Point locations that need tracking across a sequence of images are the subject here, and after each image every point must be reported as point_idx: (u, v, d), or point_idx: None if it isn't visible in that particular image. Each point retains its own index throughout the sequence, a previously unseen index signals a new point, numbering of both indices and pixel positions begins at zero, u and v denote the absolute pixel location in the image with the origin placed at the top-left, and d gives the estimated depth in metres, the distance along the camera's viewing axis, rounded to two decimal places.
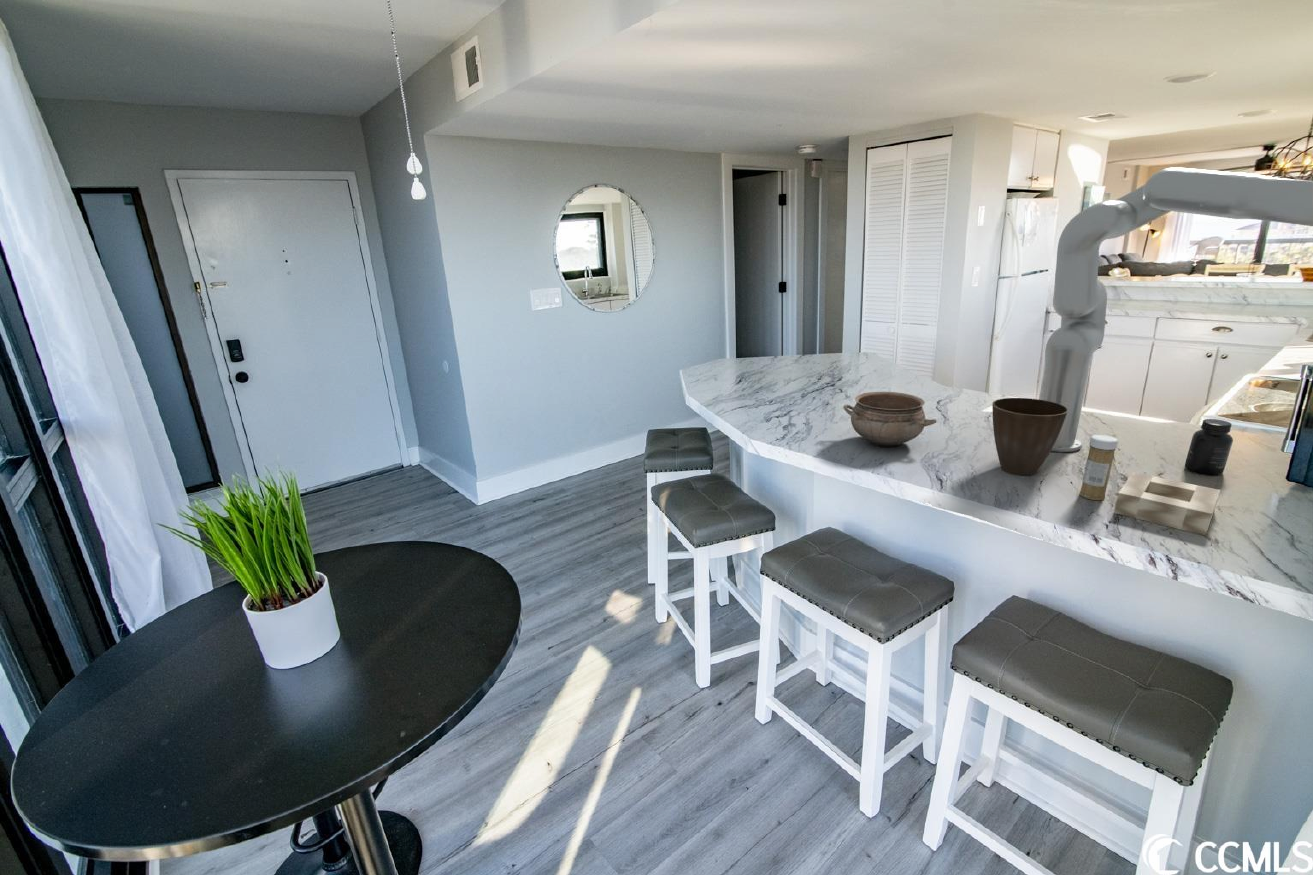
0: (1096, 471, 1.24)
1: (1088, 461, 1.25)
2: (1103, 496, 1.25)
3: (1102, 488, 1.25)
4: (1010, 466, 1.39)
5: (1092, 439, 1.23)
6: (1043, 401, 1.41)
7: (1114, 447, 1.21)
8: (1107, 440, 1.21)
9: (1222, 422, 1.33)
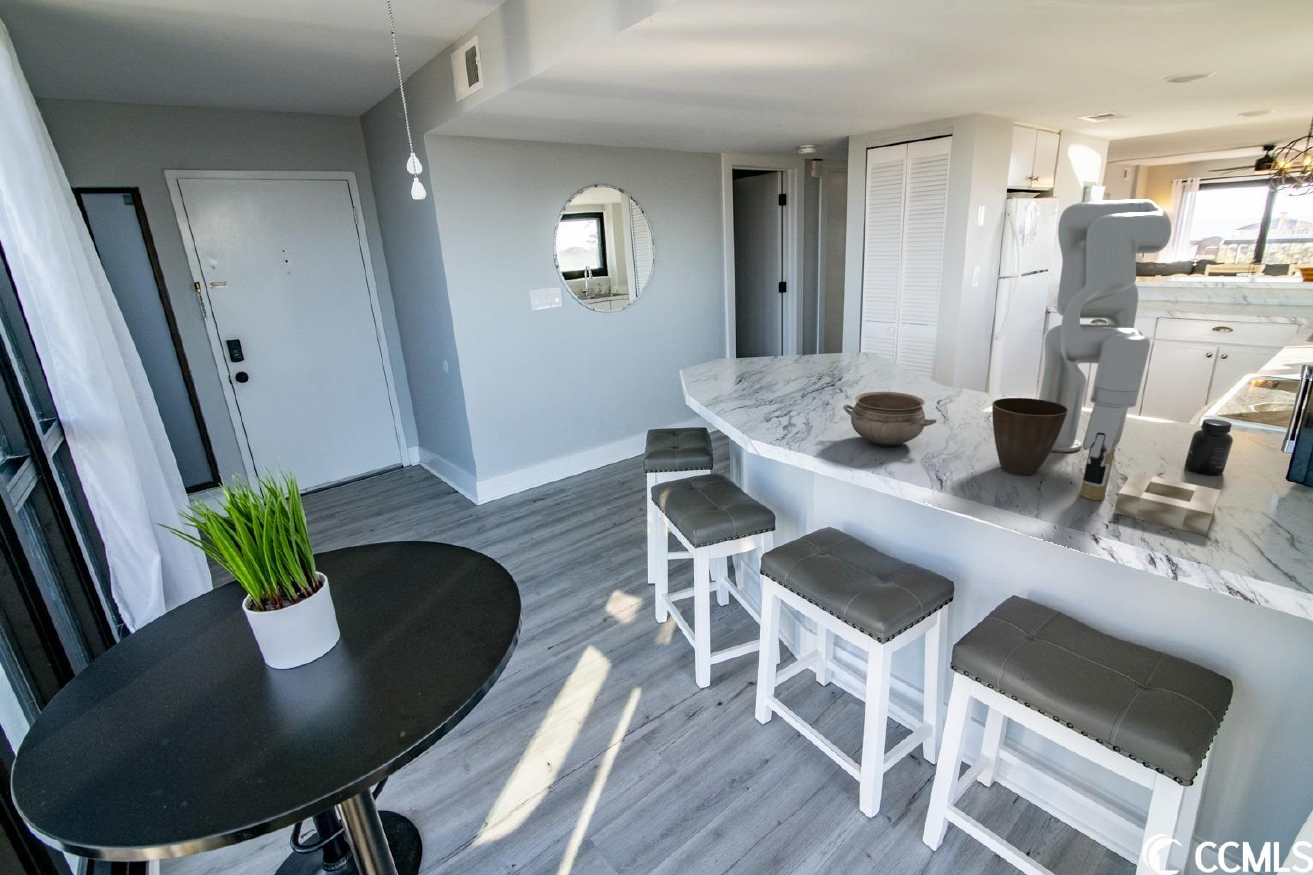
0: None
1: None
2: (1103, 496, 1.25)
3: (1102, 488, 1.25)
4: (1010, 466, 1.39)
5: None
6: (1043, 401, 1.41)
7: None
8: None
9: (1222, 422, 1.33)
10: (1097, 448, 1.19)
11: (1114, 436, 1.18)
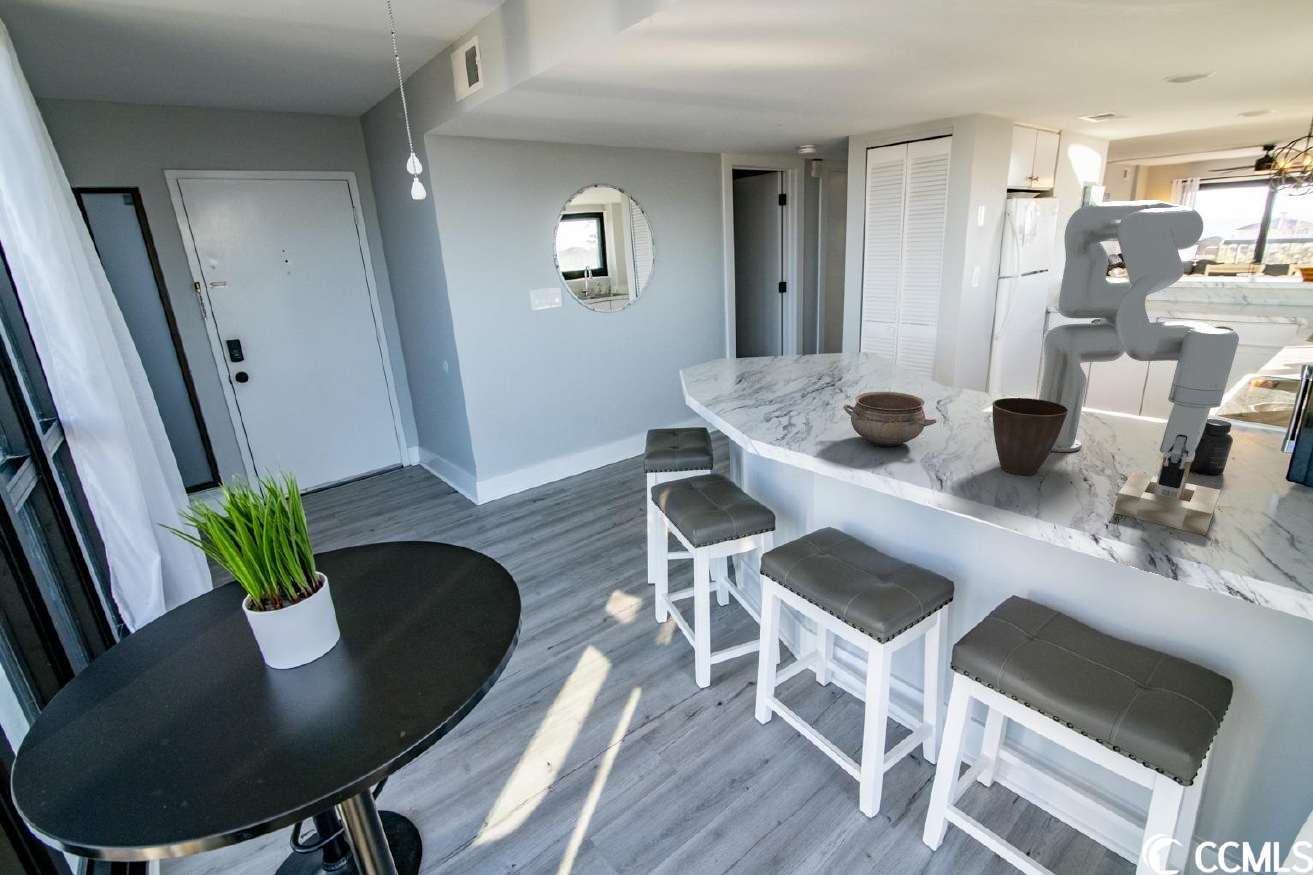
0: None
1: None
2: None
3: None
4: (1010, 466, 1.39)
5: None
6: (1044, 401, 1.41)
7: (1191, 459, 1.14)
8: (1184, 452, 1.14)
9: (1222, 422, 1.33)
10: (1180, 441, 1.10)
11: (1197, 438, 1.10)
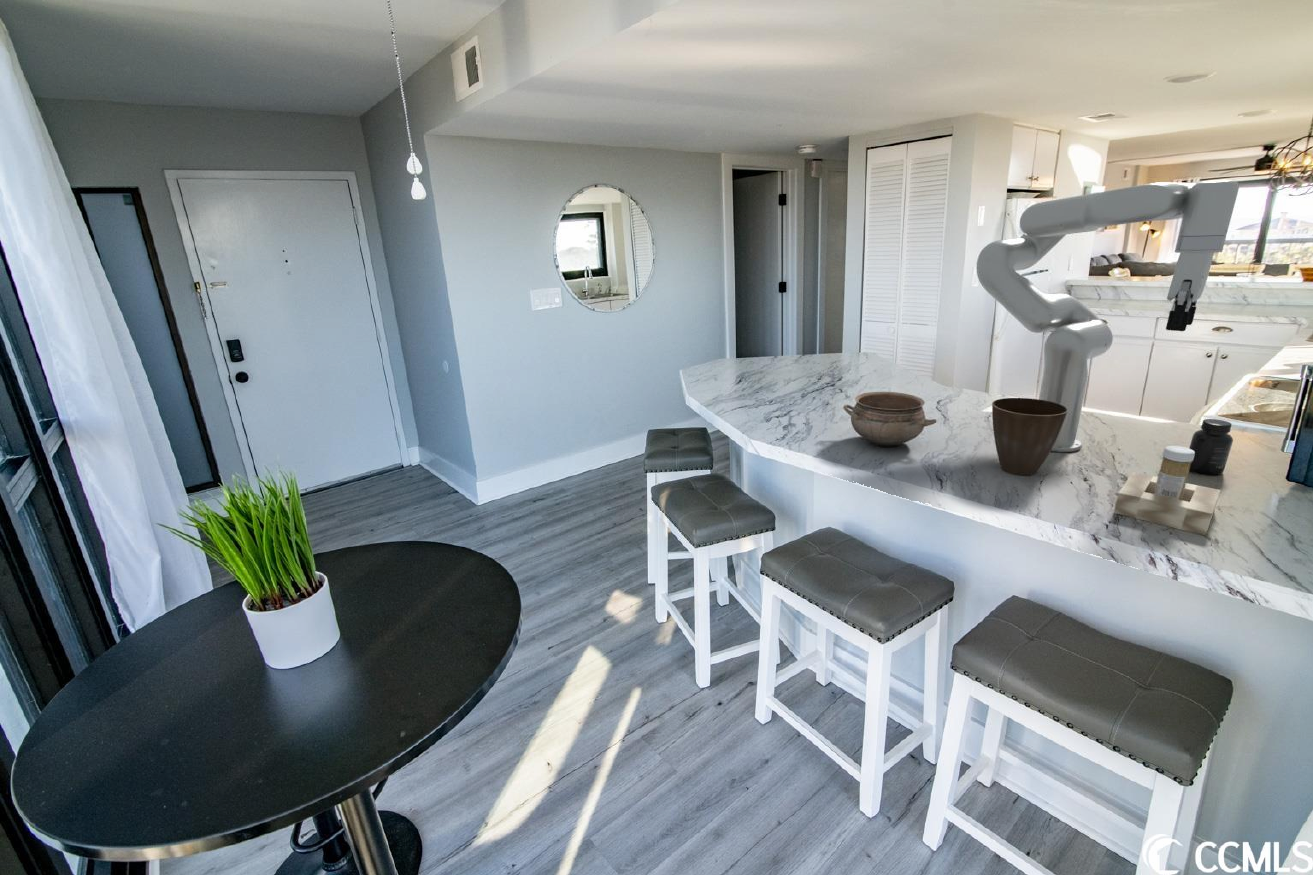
0: (1170, 485, 1.16)
1: (1161, 474, 1.18)
2: None
3: None
4: (1010, 466, 1.39)
5: (1166, 450, 1.16)
6: (1043, 401, 1.41)
7: (1191, 459, 1.14)
8: (1184, 452, 1.14)
9: (1222, 422, 1.33)
10: (1186, 284, 1.22)
11: (1201, 282, 1.22)
